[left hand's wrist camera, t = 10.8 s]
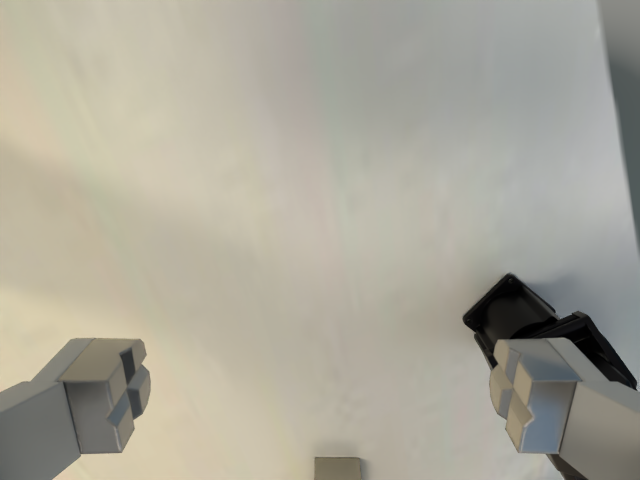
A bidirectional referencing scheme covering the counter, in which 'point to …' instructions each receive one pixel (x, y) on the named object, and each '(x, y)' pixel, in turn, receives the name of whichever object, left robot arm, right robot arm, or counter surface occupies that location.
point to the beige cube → (337, 469)
